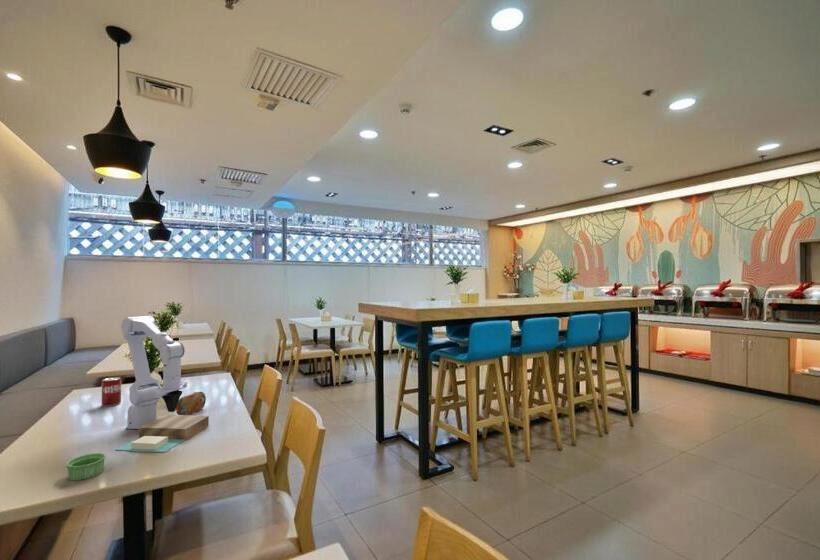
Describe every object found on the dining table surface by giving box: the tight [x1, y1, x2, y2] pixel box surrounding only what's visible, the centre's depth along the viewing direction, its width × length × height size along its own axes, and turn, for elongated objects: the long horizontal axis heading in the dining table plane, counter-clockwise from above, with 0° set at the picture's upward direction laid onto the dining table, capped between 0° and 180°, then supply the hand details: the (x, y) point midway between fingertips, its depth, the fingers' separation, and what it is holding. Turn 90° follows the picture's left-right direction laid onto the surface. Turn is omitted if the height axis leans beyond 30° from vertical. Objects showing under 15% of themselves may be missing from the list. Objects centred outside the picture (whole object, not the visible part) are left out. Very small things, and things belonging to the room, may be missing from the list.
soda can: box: [101, 376, 122, 408], centre depth 182 cm, size 7×7×12 cm
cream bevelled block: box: [131, 436, 168, 450], centre depth 135 cm, size 9×6×2 cm, turn 85°
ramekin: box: [66, 452, 107, 481], centre depth 116 cm, size 9×9×4 cm
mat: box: [115, 437, 186, 453], centre depth 136 cm, size 18×10×1 cm, turn 85°
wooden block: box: [138, 414, 210, 441], centre depth 148 cm, size 18×14×4 cm
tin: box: [175, 391, 207, 415], centre depth 170 cm, size 15×3×8 cm, turn 168°
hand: (171, 411), depth 147 cm, fingers closed
